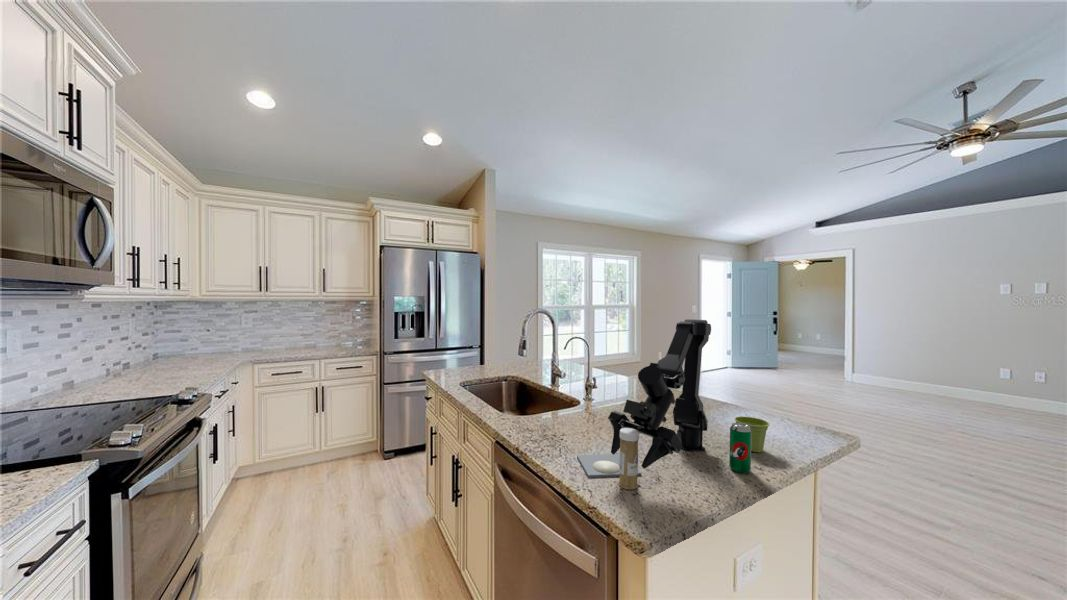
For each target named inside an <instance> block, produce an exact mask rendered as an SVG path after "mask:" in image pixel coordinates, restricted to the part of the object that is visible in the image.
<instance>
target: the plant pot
mask: <svg viewBox="0 0 1067 600" xmlns="http://www.w3.org/2000/svg"><path fill="white" fill-rule="evenodd" d="M733 419H734V421H735V423H742V424H746V425H748V426H750V429H751V431H752V434H751V452H753V453H756V452H759V453H762V452H764V446H765V441H766V436H767V430H768V428H769V427H770V423H771V422H768V421H766V420H764V419H761V418H758V417H752V416H742V415H741V416H740V415H739V416H736V417H734V418H733Z"/></svg>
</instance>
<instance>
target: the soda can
mask: <svg viewBox="0 0 1067 600" xmlns="http://www.w3.org/2000/svg"><path fill="white" fill-rule="evenodd" d="M751 434H752V431H751V429H750V426H748V425H746V424H742V423H736V422H733V423H731V425H730V427H729V450H728V451H729V452H728V454H729V458H728V462H729V463H728V467H729V468H730V470H732V471H733V472H736V473H739V474H748V473H750V472H751V470H752V468H751V467H752V466H751V465H752V451H751Z"/></svg>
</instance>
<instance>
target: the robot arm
mask: <svg viewBox="0 0 1067 600" xmlns="http://www.w3.org/2000/svg"><path fill="white" fill-rule="evenodd" d="M711 333H712V326H711V323H708V320H706V319H691V318H686V319H685V320H683V321H681V320H680V321H679V322H676V325H675V332H674V335H673V337H672V340H671V342H670V344H669V347H668V350H667V352H666V354H665V356H664V357H663V358H661V359H659V360H658V361H657V363H656V362H650V363H649V365H648V366H645V367H643V368H641V369H640V370H639V371H638V373H637V379H638V381H639V384H640V385H641V387H642V389H643V391H644V393H645V394H646V395H647V398H646V399H645V401H642V400H641V401H640V402H638V401H634V400H631V399H626V400H625V403H624V407H623V411H622V412H623V413H622V412H619V411H617V410H613V411H611V412H610V413H609V415H608V417H607V420H608V421H609V422H610V424H611V426H612V427H613V437H612V443H611V448H610V454H613V455H614V454H617V452H618V451H620V429H622V428H632V429H636V430H637V431H638V432H639V434H642V435H645V436H648V437H649V438H652V439H651V445H650V447H649V449H648V451H647V453H646V455H645V456H644V459H643V461H642V463H641V468H642V469H647V468H648V467H650V466H651V465H653V464H654V463H655V462H657V461H658V460H660V459H662V458H664V457H665V456H668V455H673V454H674V453H677V454H679V453H680V452H681V450H682V449H683V450H684V451H687V452H688V451H689V452H690V451H706V447H705V446H703V433H704V432H706V431H708V425H709V424H708V418H707V415H706V413H705V411H704V403H703V402H702V399H701V398H700V396H699V395H700V394H699V391H700V382H701V381H700V378H701V377H700V376H701V367H702V366H701V365H702V356H703V355H702V353H703V348H704V347H705V345H706V344H707V343H708V341H709V340H710V339H709V338H710V335H711ZM683 365H684V366H683ZM683 367H684V368H683ZM681 387H682V390H681V394H680V395H679V397H676V398H675V396H674V392H673V391H672V390H671V389H674V390H678V389H680V388H681ZM671 404H674V406H673V410H672V416H673V425H674V426H678V429H677V431H675V430H673V429H670V428H668V427H666V426H665V427H664V426H663V425H662V426H661V424H662V423H666V421H667V418H666V414H667V412H668V410H669V408H670V406H671ZM625 413H626V414H629V415H630V416H629V417H630V418H631V419H632V420H633V421H631V420H630V419H629V418H628V416H627V415H626V414H625Z"/></svg>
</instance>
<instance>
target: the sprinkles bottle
mask: <svg viewBox="0 0 1067 600" xmlns="http://www.w3.org/2000/svg"><path fill="white" fill-rule="evenodd" d="M639 439H640V433H639V432H638V431H637V430H636V429H632V428H622V429H620V448H619V454H620V461H619V472H620V476H619V482H618V485H619V486H620V487H621V488H622V489H625V490H628V491H629V490H636V489H637V488H639V487H638V486H639V484H638V476H637V475H638V470H639Z"/></svg>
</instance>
